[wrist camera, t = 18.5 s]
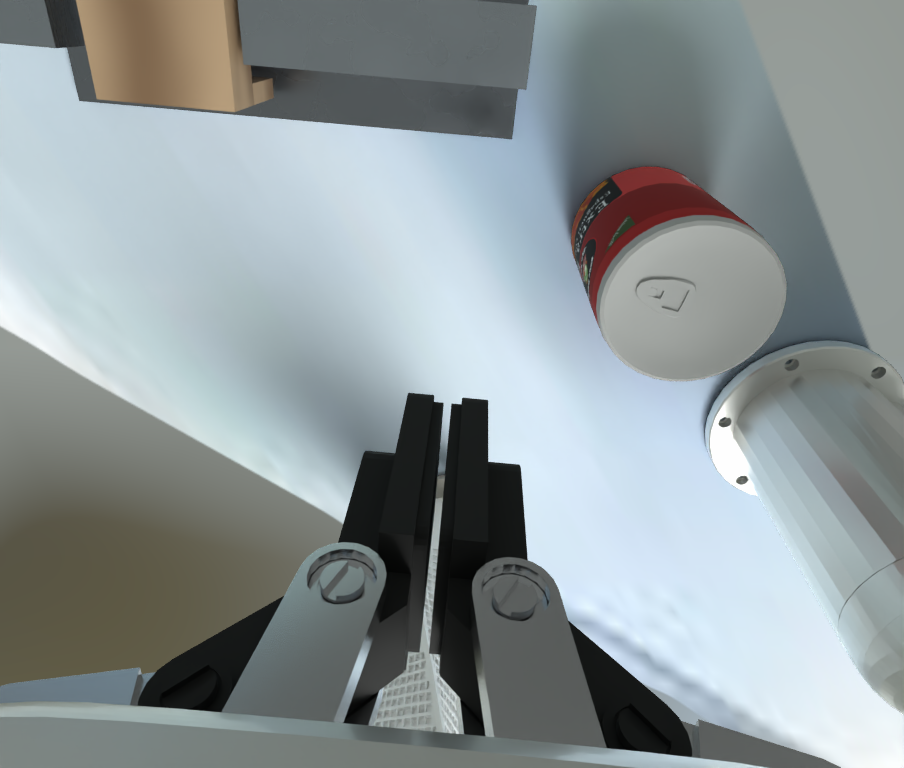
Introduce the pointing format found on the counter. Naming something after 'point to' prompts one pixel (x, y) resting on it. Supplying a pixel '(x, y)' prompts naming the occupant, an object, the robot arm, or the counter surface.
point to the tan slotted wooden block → (170, 54)
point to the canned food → (675, 275)
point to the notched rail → (349, 59)
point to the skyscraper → (422, 668)
